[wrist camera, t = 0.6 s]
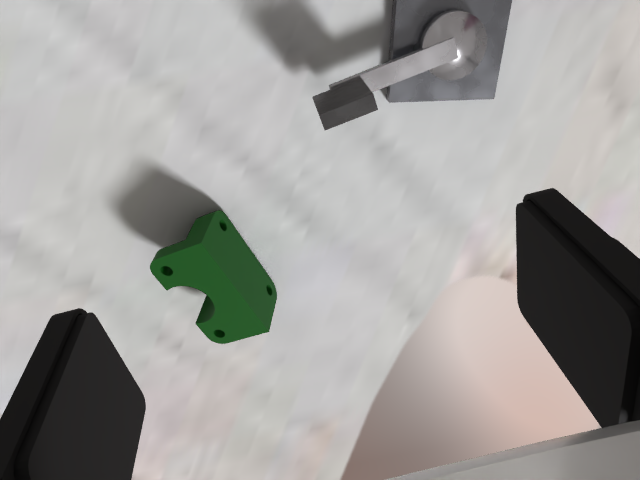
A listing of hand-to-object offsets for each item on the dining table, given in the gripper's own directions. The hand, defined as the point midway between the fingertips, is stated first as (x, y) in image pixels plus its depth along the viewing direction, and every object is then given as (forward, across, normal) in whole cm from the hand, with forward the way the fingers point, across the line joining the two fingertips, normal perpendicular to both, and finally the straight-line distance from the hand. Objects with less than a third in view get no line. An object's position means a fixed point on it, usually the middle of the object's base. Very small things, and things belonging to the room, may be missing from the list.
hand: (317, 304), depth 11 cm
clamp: (+34, +10, +19) cm, 40 cm away
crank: (+32, -9, +5) cm, 34 cm away
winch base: (+33, -14, +4) cm, 36 cm away
